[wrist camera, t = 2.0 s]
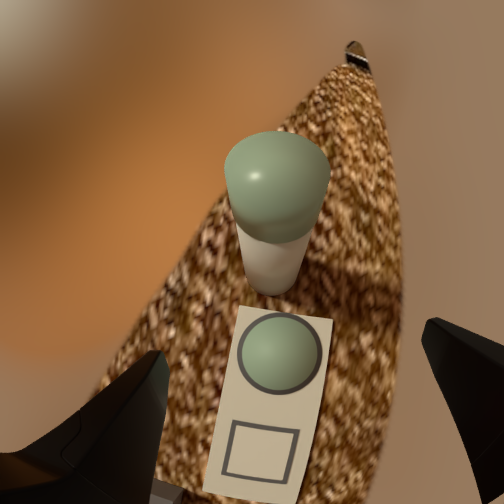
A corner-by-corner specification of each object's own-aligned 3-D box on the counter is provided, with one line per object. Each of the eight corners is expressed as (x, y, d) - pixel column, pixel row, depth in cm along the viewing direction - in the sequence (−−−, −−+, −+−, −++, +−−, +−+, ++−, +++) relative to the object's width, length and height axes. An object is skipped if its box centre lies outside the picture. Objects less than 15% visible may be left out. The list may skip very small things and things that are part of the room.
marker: (292, 302, 22) (324, 220, 10) (237, 289, 23) (209, 197, 11) (303, 252, 24) (334, 141, 12) (252, 240, 25) (241, 125, 13)
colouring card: (294, 503, 15) (295, 505, 14) (202, 489, 16) (201, 491, 15) (332, 320, 21) (333, 319, 21) (239, 306, 22) (239, 304, 22)
